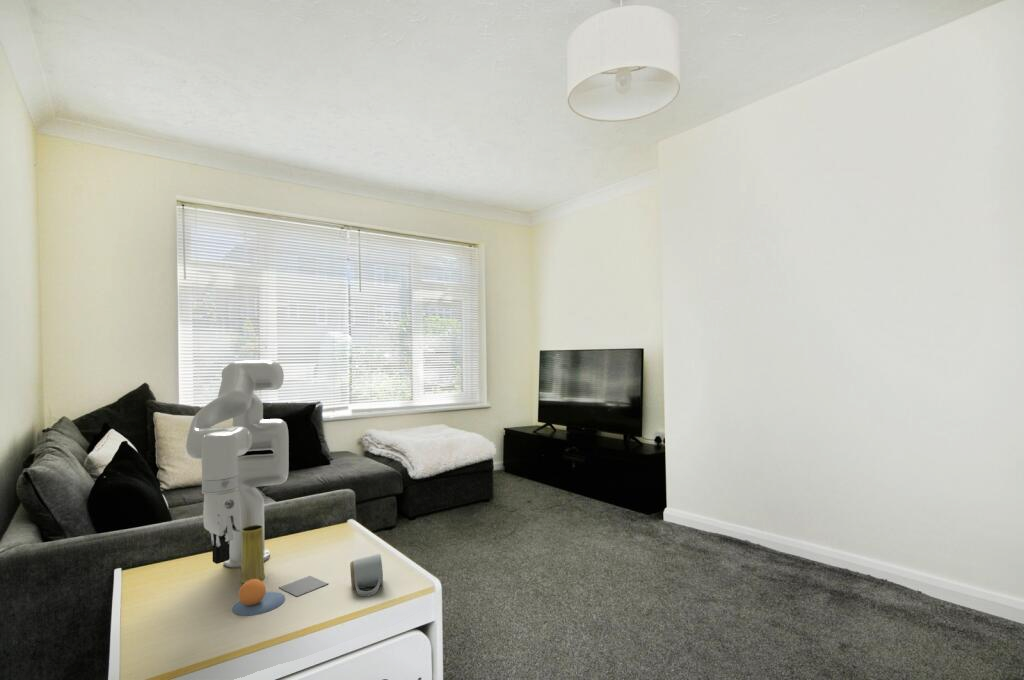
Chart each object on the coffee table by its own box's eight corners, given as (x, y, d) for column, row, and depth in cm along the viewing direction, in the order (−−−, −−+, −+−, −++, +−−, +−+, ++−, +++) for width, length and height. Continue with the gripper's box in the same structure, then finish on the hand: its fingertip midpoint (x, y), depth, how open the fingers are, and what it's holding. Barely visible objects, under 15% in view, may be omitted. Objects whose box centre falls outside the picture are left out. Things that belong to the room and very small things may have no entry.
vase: (269, 576, 147) (269, 525, 147) (252, 585, 141) (251, 532, 141) (252, 574, 149) (252, 523, 149) (235, 582, 143) (234, 530, 143)
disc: (223, 606, 129) (223, 605, 129) (270, 588, 139) (270, 587, 139) (245, 620, 122) (245, 619, 122) (294, 600, 131) (294, 600, 131)
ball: (244, 577, 133) (260, 592, 135) (228, 598, 128) (246, 613, 130) (258, 571, 131) (275, 586, 132) (243, 592, 125) (260, 608, 127)
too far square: (278, 588, 139) (278, 587, 139) (310, 576, 146) (310, 575, 146) (296, 596, 133) (296, 596, 133) (328, 584, 141) (328, 583, 141)
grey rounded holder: (349, 583, 141) (349, 554, 141) (380, 577, 144) (380, 549, 144) (352, 600, 131) (351, 569, 131) (385, 594, 134) (385, 564, 134)
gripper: (251, 485, 123) (252, 563, 123) (222, 476, 132) (223, 549, 132) (217, 493, 117) (218, 575, 117) (190, 483, 126) (191, 559, 126)
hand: (221, 561), depth 124 cm, fingers closed
